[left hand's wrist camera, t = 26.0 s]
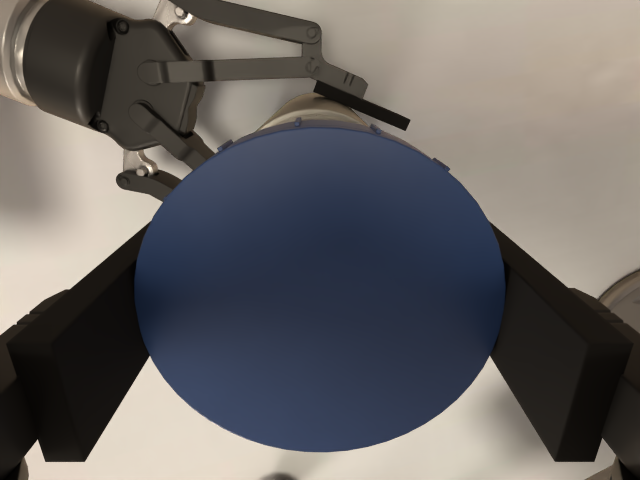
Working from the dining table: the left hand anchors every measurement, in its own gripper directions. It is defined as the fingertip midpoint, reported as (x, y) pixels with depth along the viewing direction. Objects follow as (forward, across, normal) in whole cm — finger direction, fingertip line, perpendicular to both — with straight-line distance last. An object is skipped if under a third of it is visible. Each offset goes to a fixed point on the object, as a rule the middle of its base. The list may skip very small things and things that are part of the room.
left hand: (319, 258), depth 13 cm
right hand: (+17, -4, +1) cm, 17 cm away
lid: (-3, 0, 0) cm, 3 cm away
